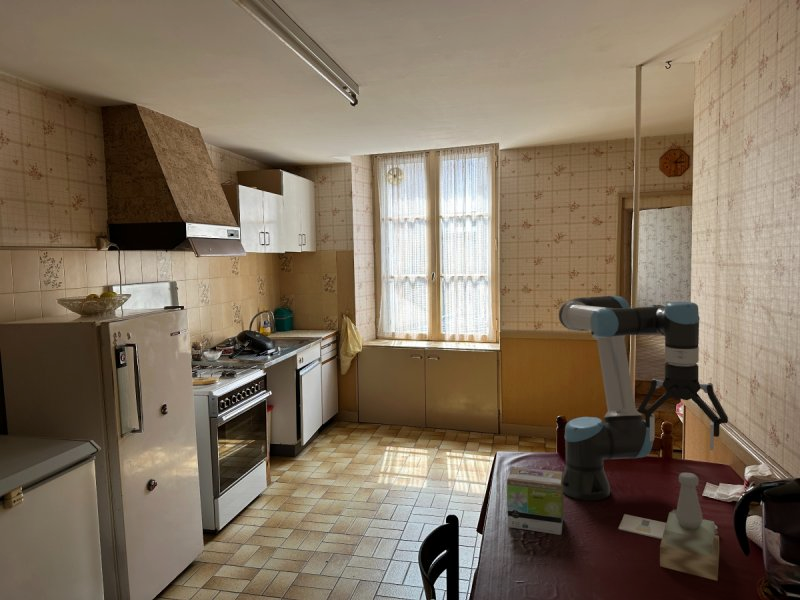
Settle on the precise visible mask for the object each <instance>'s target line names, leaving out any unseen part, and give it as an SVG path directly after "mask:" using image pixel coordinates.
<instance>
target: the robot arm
mask: <svg viewBox="0 0 800 600" xmlns="http://www.w3.org/2000/svg"><path fill="white" fill-rule="evenodd" d="M699 314H700V313H699V306H698V304H697V303H695V302H693V301H671V302H667V303H666V304H665V305H661V304H650V305H648V306H642V307H640V306H639V307H631V306H630V303H629V302H628V300H626V299H625V298H624V297H622V296H619V295H618V296H617V295H615V296H614V295H605V296H604V295H602V296H591V297H590V296H586V297H584V296H583V297H575V298H572V299H569V300H566V301H565V302H564V303H563V304H562V305H561V307H560V309H559V310H558V319H559V322H560V323H561V325H562V327H564V328H566V329H567V330H571V331H575V332H576V331H577V332H578V331H579V332H583V331H585V332H586V331H587V332H591V333H590V334H591V337H592V339H594V340H596V341H597V348H598V355H599V360H600V362H599V363H600V367H601V375H602V381H603V388H604V395H605V400H606V402H605V403H606V406H607V407H606V408H607V412H606V413H605V415H604V416H603V420H604V421H603V420H602V419H601V418H598V417H595V416H582V417H581V416H580V417H577V418H572V419H571V420H569V421H568V422H567V423H566V424H565V428H564V429H565V430H564V440H565V442H564V444H565V468H564V471H563V494H565V495H566V496H568V497H570V498H573V499H576V500H581V501H600V500H601V501H602V500H604V499H606V498H608V497H609V496H610V495H611V486H610V483H609V479H608V477H607V474H606V471H605V469H604V468H605V467H604V466H605V465H604V460H618V459H619V460H620V459H621V460H622V459H625V460H626V459H634V460H635V459H639V458H645V457H647V456H648V455H649V454H650V452H651V450H652V449H653V448H652V447H653V444H654V440H655V430H656V429H655V428H656V427H655V424H656V423H655V420H656V419H655V418H656V417H655V413H654V412H655V411H656V410H657V409H659V408H660V407H661V406H662V405H663V404H665V402H666V401H667V400H668V399H670V398H672V399H674V400H683V401H689V400H691V401H692V402H693V403H695V405H697V407H699V409H700V410H701V411H702V412H703V413H704V415H706V417H708V418H709V420H710V423H709V450H710V451H714V449H715V437H717V438H719V436H720V425H721V424H727V423H728V422H729V417H728V414H726V411H725V410H724V408H723V406H722V404H721V402H720V401H719V399H718V397H717V395H716V394H715V392H714V384H713V383H712V382H708V383H707V384H705V383H704V384H703V383H700V381H699V365H698V363H699V361H700V360H699V359H700V357H699V356H700V355H699V351H700V349H699V348H700V347H699V344H700V342H699V340H700V338H699V337H700V319H701V318H700V315H699ZM646 335H661V336H664V360H665V364H664V379H663V380H660V379H658V378H656V377H655V378H652V380H651V384H650V388H649V390H648V392H647V393H646V395H645V396H644V398H643V401H642V402H641V403H640V405H639V407H638V409H636V402H635V395H634V390H633V385H632V379H631V373H630V368H629V367H630V366H629V365H630V364H629V360H628V354H627V350H626V349H627V348H626V343H625V337H626V336H646ZM661 386H662V387H663V388H664V390H666V391H665V392H664V394H662V395H661V396H660V397H659V398H658V399H657V400H656V401H654V403H653V404H652V405H650V406H649V407H648V408H646V407H647V406H648V404H649V402H650V400H651V398H652V397H653V395H654V394H655V391H656V390H657V389H659V388H661ZM700 390H703V392H704V393H705V394H707V397H708V398H709V400H710V402H711V404H712V406H713V408H714V409H715V411H716V413H717V414H718V416H719V417H718V416H717V415H716V413H715V412H714V411H713V410H712V408H710V407H709V406H708V404H707V403H706V402H705V401H704V400H703V398H701V396H700V395H699V394H698V392H699V391H700ZM653 413H654V414H653ZM643 415H644V416H645V419H643Z"/></svg>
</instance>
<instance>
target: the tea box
mask: <svg viewBox="0 0 800 600" xmlns="http://www.w3.org/2000/svg"><path fill="white" fill-rule="evenodd" d="M563 474H564V471H559V470H558V471H557V470H548V469H538V468H528V467H519V466H511V468H510V471H509V474H508V477H507V479H506V495H507V496H506V497H507V498H506V499H507V501H506V503H507V504H506V505H507V526H508V528H510V529H511V528H512V529H520V530H524V531H525V530H527V531H533V532H539V533H546V534H551V535H552V534H553V535H558V536H561V535H562V531H563V520H564V493H563Z"/></svg>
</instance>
